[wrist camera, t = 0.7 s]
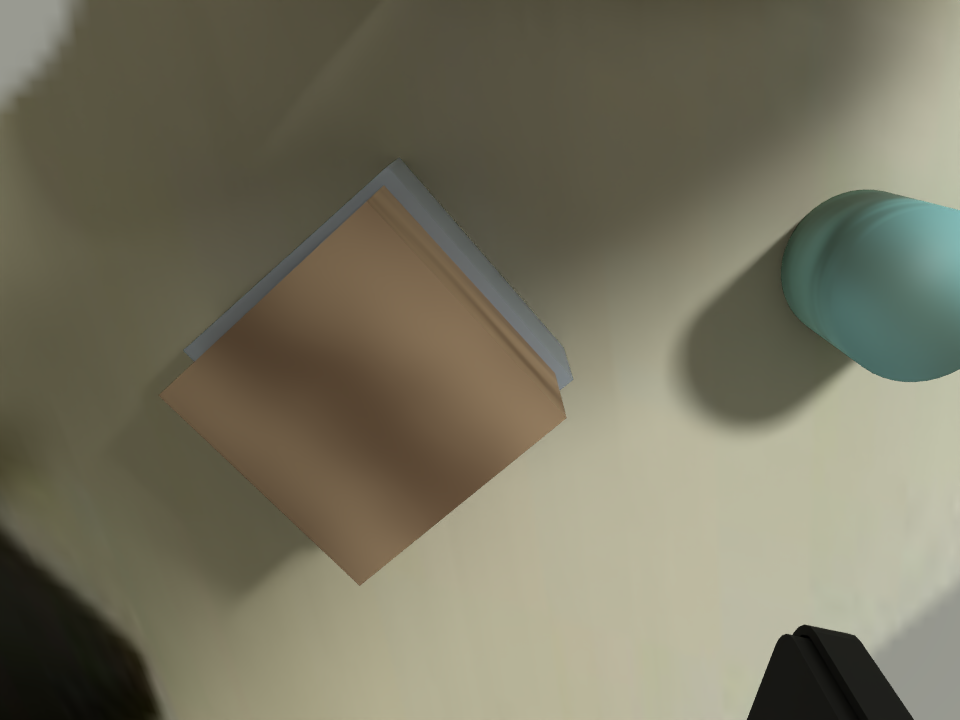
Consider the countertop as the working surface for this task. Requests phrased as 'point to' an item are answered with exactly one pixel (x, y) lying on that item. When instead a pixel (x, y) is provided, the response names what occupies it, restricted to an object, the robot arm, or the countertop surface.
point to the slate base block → (443, 234)
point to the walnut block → (370, 390)
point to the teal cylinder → (880, 282)
